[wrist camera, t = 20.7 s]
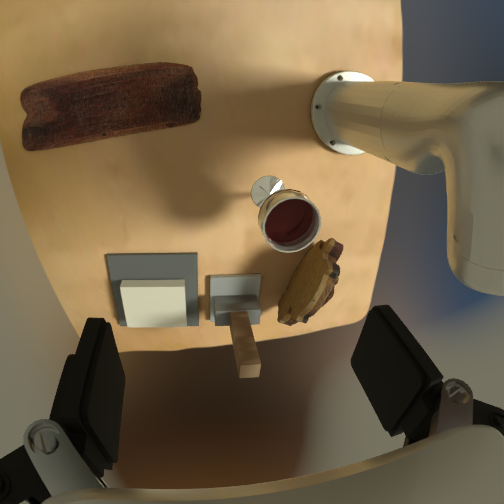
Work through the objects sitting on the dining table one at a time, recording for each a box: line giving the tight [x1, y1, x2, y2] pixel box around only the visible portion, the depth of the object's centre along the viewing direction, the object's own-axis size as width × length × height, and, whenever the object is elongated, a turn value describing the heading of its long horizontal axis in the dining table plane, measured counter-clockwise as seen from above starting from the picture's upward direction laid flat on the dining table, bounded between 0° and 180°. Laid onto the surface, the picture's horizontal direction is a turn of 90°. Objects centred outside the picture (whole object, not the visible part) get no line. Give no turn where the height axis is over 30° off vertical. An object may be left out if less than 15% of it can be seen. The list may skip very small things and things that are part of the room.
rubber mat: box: [107, 253, 199, 326], centre depth 48 cm, size 14×14×1 cm
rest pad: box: [210, 274, 261, 322], centre depth 52 cm, size 8×9×1 cm
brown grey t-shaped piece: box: [213, 295, 261, 378], centre depth 45 cm, size 7×3×15 cm, turn 85°
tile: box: [120, 279, 187, 327], centre depth 48 cm, size 10×2×8 cm
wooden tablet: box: [21, 62, 201, 151], centre depth 34 cm, size 26×2×10 cm
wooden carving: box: [278, 238, 343, 326], centre depth 47 cm, size 16×5×10 cm, turn 158°
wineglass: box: [251, 176, 321, 253], centre depth 39 cm, size 7×7×12 cm
